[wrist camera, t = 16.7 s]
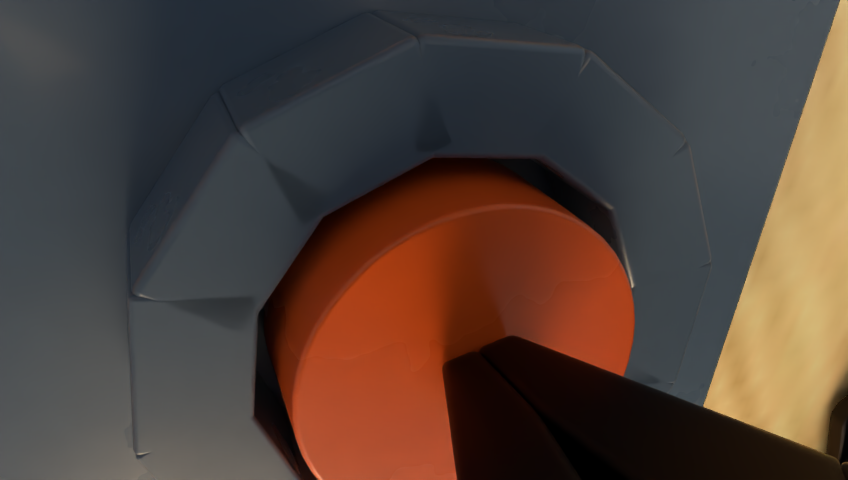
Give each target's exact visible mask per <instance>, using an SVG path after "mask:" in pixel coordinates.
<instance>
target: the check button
mask: <svg viewBox="0 0 848 480" xmlns="http://www.w3.org/2000/svg"><path fill="white" fill-rule="evenodd" d="M634 327H635V314H634V301H633V296H632V291H631V286H630V283H629V281H628V278H627V275H626V273H625V270H624V267H623V265H622V264H621V262H620V260H619V258H618V257H617V255H616V253H615V251H614V250H613V249H612V248H611V247H610V245H609V244H608V243H607V242H606V241H605V239H604V238H603V237H602V236H601V235H599V234H598V233H597V232H596V231H595V230H593V229H592V228H591V227H590V226H589V225H587V224H586V223H585V222H583V221H582V220H580V219H579V218H578V217H576V216H575V215H574V214H572V213H571V212H569V211H568V210H567V209H565V208H564V207H562V206H561V205H560V204H558V203H557V202H556V201H554V200H553V199H551V198H550V197H549V196H547V195H546V194H545V193H543V192H542V191H540V190H539V189H538V188H536V187H535V186H533V185H532V184H531V183H529V182H528V181H527V180H525V179H524V178H522V177H521V176H520V175H518V174H517V173H515V172H514V171H512V170H510V169H509V168H507V167H505V166H503V165H502V164H500V163H497V162H495V161H492V160H490V159H487V158H432V159H430V160H428V161H426V162H424V163H422V164H420V165H419V166H417V167H415V168H413V169H411V170H409V171H408V172H406V173H404V174H402V175H400V176H398V177H397V178H395V179H393V180H391V181H389V182H387V183H386V184H384V185H382V186H380V187H378V188H376V189H375V190H373V191H371V192H369V193H367V194H365V195H364V196H362V197H360V198H358V199H356V200H354V201H353V202H351V203H349V204H347V205H345V206H343V207H341V208H340V209H338V210H336V211H334V212H332V213H330V214H329V215H327V216H325V217H323V219H322V220H321V222H320V223H319V225H318V226H317V228H316V229H315V231H314V232H313V233H312V235H311V236H310V238H309V239H308V241H307V242H306V244H305V245H304V247H303V248H302V250H301V251H300V253H299V254H298V256H297V257H296V258H295V260H294V261H293V263H292V264H291V266H290V267H289V269H288V270H287V272H286V273H285V275H284V276H283V278H282V279H281V281H280V282H279V283H278V285H277V286H276V288H275V289H274V291H273V292H272V294H271V295H270V297H269V298H268V300H267V301H266V303H265V306H264V335H265V340H266V345H267V350H268V354H269V357H270V360H271V363H272V366H273V369H274V373H275V376H276V379H277V382H278V385H279V388H280V391H281V395H282V398H283V401H284V404H285V407H286V410H287V413H288V416H289V420H290V423H291V426H292V429H293V432H294V435H295V438H296V441H297V444H298V446H299V449H300V452H301V454H302V457H303V459H304V460H305V462H306V464H307V465H308V467H309V469H310V470H311V472H312V473H313V475H314V476H315V477H316V478H317V479H318V480H457V477H456V470H455V462H454V455H453V447H452V440H451V432H450V425H449V417H448V410H447V403H446V395H445V388H444V380H443V373H442V367H443V365H444V363H445V362H447V361H449V360H452V359H454V358H457V357H459V356H461V355H464V354H466V353H469V352H472V351H474V352H478V353H479V351H480V349H481V348H482V347H483V346H485V345H488V344H490V343H492V342H495V341H497V340H500V339H502V338H504V337H507V336H511V335H513V336H518V337H521V338H524V339H526V340H529V341H531V342H534V343H537V344H539V345H542V346H545V347H547V348H550V349H552V350H555V351H558V352H560V353H563V354H566V355H568V356H571V357H573V358H576V359H579V360H581V361H584V362H586V363H589V364H592V365H594V366H597V367H600V368H602V369H605V370H607V371H610V372H613V373H615V374H618V375H621V376H624V373H625V370H626V368H627V365H628V362H629V358H630V354H631V349H632V344H633V338H634Z"/></svg>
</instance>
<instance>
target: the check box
mask: <svg viewBox="0 0 848 480" xmlns="http://www.w3.org/2000/svg"><path fill="white" fill-rule="evenodd" d="M839 2H840V0H0V480H318V479H317V478H316V477H315V476H314V475H313V473H312V472H311V470H310V469H309V467H308V465H307V464H306V462H305V460H304V459H303V457H302V454H301V452H300V449H299V446H298V444H297V441H296V438H295V435H294V432H293V429H292V426H291V423H290V420H289V416H288V413H287V410H286V407H285V404H284V401H283V398H282V395H281V391H280V388H279V385H278V382H277V379H276V376H275V373H274V369H273V366H272V363H271V360H270V357H269V354H268V350H267V345H266V340H265V335H264V306H265V303H266V301H267V300H268V298H269V297H270V295H271V294H272V292H273V291H274V289H275V288H276V286H277V285H278V283H279V282H280V281H281V279H282V278H283V276H284V275H285V273H286V272H287V270H288V269H289V267H290V266H291V264H292V263H293V261H294V260H295V258H296V257H297V256H298V254H299V253H300V251H301V250H302V248H303V247H304V245H305V244H306V242H307V241H308V239H309V238H310V236H311V235H312V233H313V232H314V231H315V229H316V228H317V226H318V225H319V223H320V222H321V220H322V219H323V217H325V216H327V215H329V214H330V213H332V212H334V211H336V210H338V209H340V208H341V207H343V206H345V205H347V204H349V203H351V202H353V201H354V200H356V199H358V198H360V197H362V196H364V195H365V194H367V193H369V192H371V191H373V190H375V189H376V188H378V187H380V186H382V185H384V184H386V183H387V182H389V181H391V180H393V179H395V178H397V177H398V176H400V175H402V174H404V173H406V172H408V171H409V170H411V169H413V168H415V167H417V166H419V165H420V164H422V163H424V162H426V161H428V160H430V159H432V158H487V159H490V160H492V161H495V162H497V163H500V164H502V165H503V166H505V167H507V168H509V169H510V170H512V171H514V172H515V173H517V174H518V175H520V176H521V177H522V178H524V179H525V180H527V181H528V182H529V183H531V184H532V185H533V186H535V187H536V188H538V189H539V190H540V191H542V192H543V193H545V194H546V195H547V196H549V197H550V198H551V199H553V200H554V201H556V202H557V203H558V204H560V205H561V206H562V207H564V208H565V209H567V210H568V211H569V212H571V213H572V214H574V215H575V216H576V217H578V218H579V219H580V220H582V221H583V222H585V223H586V224H587V225H589V226H590V227H591V228H592V229H593V230H595V231H596V232H597V233H598V234H599V235H601V236H602V237H603V238H604V239H605V241H606V242H607V243H608V244H609V245H610V247H611V248H612V249H613V250H614V251H615V253H616V255H617V257H618V258H619V260H620V262H621V264H622V265H623V267H624V270H625V273H626V275H627V278H628V281H629V283H630V286H631V291H632V296H633V301H634V314H635V327H634V338H633V344H632V349H631V354H630V358H629V362H628V365H627V368H626V370H625V373H624V376H623V377H626V378H628V379H631V380H634V381H636V382H639V383H641V384H644V385H647V386H649V387H652V388H655V389H657V390H660V391H662V392H665V393H668V394H670V395H673V396H676V397H678V398H681V399H683V400H686V401H689V402H691V403H694V404H696V405H699V406H702V407H703V404H704V402H705V399H706V396H707V393H708V390H709V387H710V384H711V381H712V378H713V375H714V372H715V369H716V366H717V363H718V360H719V357H720V354H721V351H722V348H723V345H724V342H725V339H726V336H727V333H728V330H729V328H730V325H731V322H732V319H733V316H734V313H735V310H736V307H737V304H738V301H739V298H740V295H741V292H742V289H743V286H744V283H745V280H746V277H747V274H748V271H749V268H750V265H751V262H752V259H753V256H754V254H755V251H756V248H757V245H758V242H759V239H760V236H761V233H762V230H763V227H764V224H765V221H766V218H767V215H768V212H769V209H770V206H771V203H772V200H773V197H774V194H775V191H776V188H777V185H778V182H779V180H780V177H781V174H782V171H783V168H784V165H785V162H786V159H787V156H788V153H789V150H790V147H791V144H792V141H793V138H794V135H795V132H796V129H797V126H798V123H799V120H800V117H801V114H802V111H803V108H804V106H805V103H806V100H807V97H808V94H809V91H810V88H811V85H812V82H813V79H814V76H815V73H816V70H817V67H818V64H819V61H820V58H821V55H822V52H823V49H824V46H825V43H826V40H827V37H828V34H829V32H830V29H831V26H832V23H833V20H834V17H835V14H836V11H837V8H838V5H839Z"/></svg>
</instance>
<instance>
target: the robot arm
mask: <svg viewBox="0 0 848 480" xmlns="http://www.w3.org/2000/svg"><path fill="white" fill-rule="evenodd" d="M442 373H443V380H444V388H445V395H446V403H447V410H448V417H449V425H450V432H451V440H452V447H453V455H454V462H455V470H456V477H457V480H848V395H847V396H846V397H844V398H843V399H842V400H841V401H840V402H839V403H838V404H837V405H836V406H835V408H834V410H833V411H832V414H831V418H830V426H829V435H828V444H827V453H826V454H825V453H822V452H820V451H817V450H814V449H812V448H809V447H806V446H804V445H801V444H799V443H796V442H793V441H791V440H788V439H786V438H783V437H780V436H778V435H775V434H772V433H770V432H767V431H765V430H762V429H759V428H757V427H754V426H751V425H749V424H746V423H744V422H741V421H738V420H736V419H733V418H731V417H728V416H725V415H723V414H720V413H717V412H715V411H712V410H710V409H707V408H704V407H702V406H699V405H696V404H694V403H691V402H689V401H686V400H683V399H681V398H678V397H676V396H673V395H670V394H668V393H665V392H662V391H660V390H657V389H655V388H652V387H649V386H647V385H644V384H641V383H639V382H636V381H634V380H631V379H628V378H626V377H623V376H621V375H618V374H615V373H613V372H610V371H607V370H605V369H602V368H600V367H597V366H594V365H592V364H589V363H586V362H584V361H581V360H579V359H576V358H573V357H571V356H568V355H566V354H563V353H560V352H558V351H555V350H552V349H550V348H547V347H545V346H542V345H539V344H537V343H534V342H531V341H529V340H526V339H524V338H521V337H518V336H513V335H511V336H507V337H504V338H502V339H500V340H497V341H495V342H492V343H490V344H488V345H485V346H483V347H482V348H481V349H480V351H479V353H478V352H474V351H472V352H469V353H466V354H464V355H461V356H459V357H457V358H454V359H452V360H449V361H447V362H445V363H444V365H443V367H442Z"/></svg>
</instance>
